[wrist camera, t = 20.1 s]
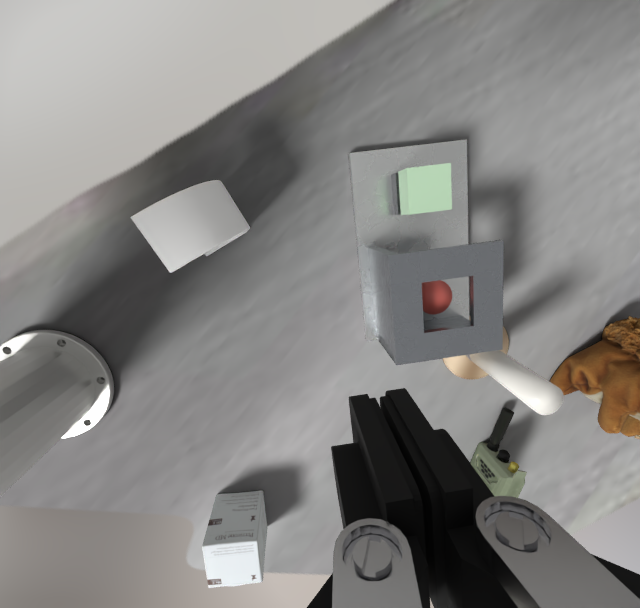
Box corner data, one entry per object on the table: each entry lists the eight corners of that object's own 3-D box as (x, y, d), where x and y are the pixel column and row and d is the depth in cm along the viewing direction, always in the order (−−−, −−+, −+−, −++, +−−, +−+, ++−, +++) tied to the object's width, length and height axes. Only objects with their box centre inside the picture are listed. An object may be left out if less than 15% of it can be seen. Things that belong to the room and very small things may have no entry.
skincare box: (263, 488, 44) (258, 540, 37) (267, 527, 46) (263, 584, 39) (215, 493, 44) (200, 546, 37) (220, 532, 46) (207, 591, 38)
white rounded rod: (464, 339, 41) (532, 387, 29) (487, 336, 41) (564, 383, 30) (464, 361, 42) (531, 417, 30) (487, 358, 42) (562, 412, 30)
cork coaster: (442, 381, 43) (444, 383, 42) (440, 319, 41) (442, 321, 40) (505, 372, 43) (508, 374, 43) (506, 310, 41) (509, 311, 41)
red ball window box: (365, 338, 41) (386, 371, 32) (348, 154, 36) (367, 134, 27) (465, 324, 41) (512, 353, 32) (462, 141, 36) (517, 117, 27)
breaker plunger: (404, 305, 38) (418, 316, 34) (402, 274, 37) (416, 282, 33) (434, 301, 38) (452, 311, 34) (433, 270, 38) (451, 277, 33)
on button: (396, 215, 36) (409, 214, 32) (393, 173, 35) (406, 168, 31) (434, 210, 36) (452, 209, 32) (432, 169, 35) (450, 162, 31)
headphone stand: (182, 217, 36) (129, 216, 24) (232, 186, 36) (203, 171, 24) (207, 256, 37) (170, 273, 25) (256, 226, 37) (241, 230, 25)
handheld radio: (424, 556, 50) (490, 401, 44) (445, 559, 50) (512, 406, 45) (446, 607, 43) (526, 433, 38) (469, 609, 44) (552, 438, 39)
